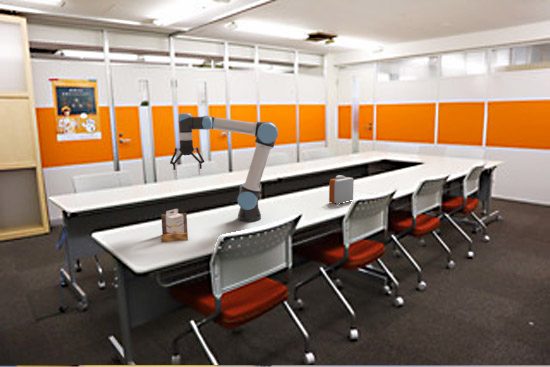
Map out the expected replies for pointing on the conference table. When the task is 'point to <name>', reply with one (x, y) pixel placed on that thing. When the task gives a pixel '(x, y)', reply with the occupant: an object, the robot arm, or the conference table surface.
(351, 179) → the grey and orange case
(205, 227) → the conference table surface
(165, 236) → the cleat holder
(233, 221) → the conference table surface
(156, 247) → the conference table surface
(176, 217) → the ink cartridge box
